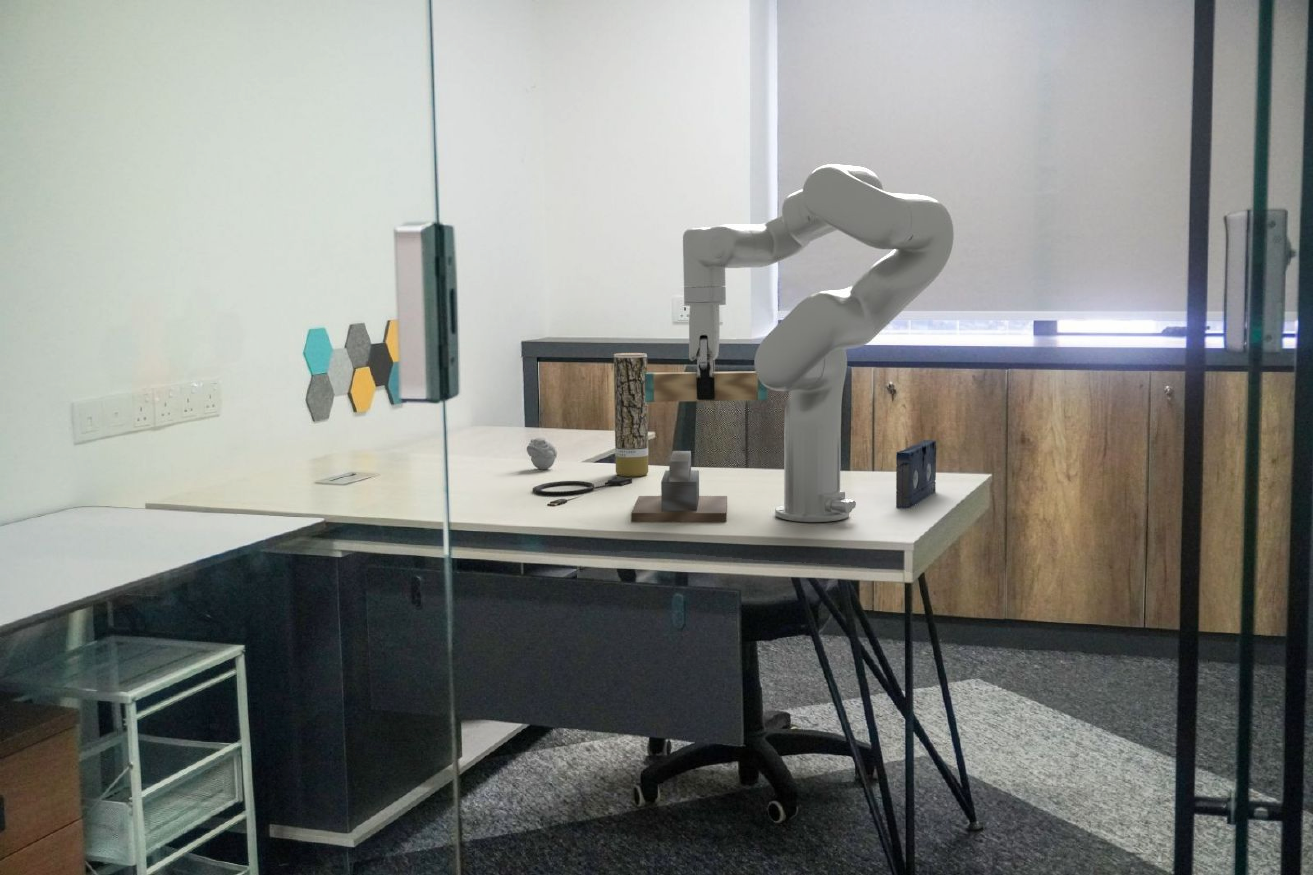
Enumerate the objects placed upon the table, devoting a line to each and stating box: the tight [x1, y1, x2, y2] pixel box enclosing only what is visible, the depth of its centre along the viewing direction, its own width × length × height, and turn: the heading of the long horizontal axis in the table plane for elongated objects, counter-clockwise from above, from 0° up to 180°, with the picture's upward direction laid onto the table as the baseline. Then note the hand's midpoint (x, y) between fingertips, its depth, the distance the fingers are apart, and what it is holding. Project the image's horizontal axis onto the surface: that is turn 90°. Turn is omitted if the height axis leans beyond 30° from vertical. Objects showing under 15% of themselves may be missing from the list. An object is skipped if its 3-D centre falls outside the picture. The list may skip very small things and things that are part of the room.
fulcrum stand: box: [630, 450, 728, 523], centre depth 220 cm, size 16×16×10 cm
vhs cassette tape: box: [895, 439, 937, 509], centre depth 230 cm, size 18×3×10 cm, turn 152°
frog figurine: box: [526, 436, 558, 471], centre depth 270 cm, size 6×7×7 cm
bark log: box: [613, 352, 649, 478], centre depth 260 cm, size 7×7×25 cm
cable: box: [532, 476, 633, 507], centre depth 244 cm, size 14×28×2 cm, turn 151°
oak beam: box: [645, 370, 769, 403], centre depth 230 cm, size 22×4×5 cm, turn 84°
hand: (706, 397), depth 230 cm, fingers closed on oak beam, 4 cm apart
